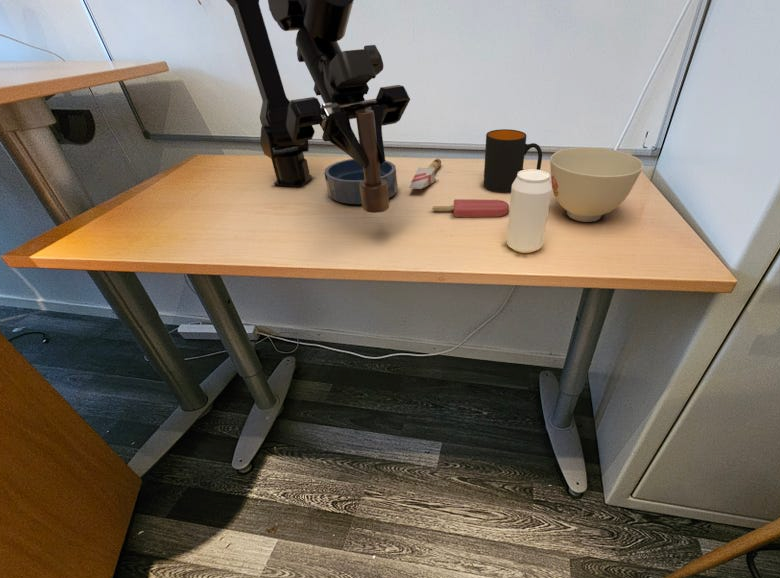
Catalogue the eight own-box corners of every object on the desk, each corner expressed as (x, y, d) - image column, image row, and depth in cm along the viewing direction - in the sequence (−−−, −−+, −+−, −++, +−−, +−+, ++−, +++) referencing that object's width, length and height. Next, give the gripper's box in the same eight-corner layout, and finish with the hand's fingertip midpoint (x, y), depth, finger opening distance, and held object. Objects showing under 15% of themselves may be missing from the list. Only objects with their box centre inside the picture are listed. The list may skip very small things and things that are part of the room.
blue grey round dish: (318, 204, 85) (313, 179, 81) (343, 179, 95) (339, 156, 92) (387, 209, 83) (384, 183, 80) (404, 183, 94) (403, 159, 90)
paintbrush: (405, 180, 86) (430, 155, 101) (406, 193, 88) (430, 167, 103) (423, 181, 85) (445, 156, 100) (423, 195, 87) (445, 168, 102)
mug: (537, 195, 88) (544, 142, 81) (481, 191, 90) (483, 139, 83) (538, 181, 94) (545, 131, 87) (485, 178, 96) (488, 128, 89)
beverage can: (501, 252, 70) (508, 178, 62) (510, 236, 74) (518, 165, 66) (538, 258, 68) (550, 183, 60) (545, 241, 72) (557, 170, 64)
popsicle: (432, 198, 83) (507, 198, 83) (433, 206, 84) (507, 206, 84) (431, 209, 79) (510, 209, 79) (432, 217, 80) (509, 217, 80)
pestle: (358, 211, 67) (344, 114, 58) (367, 201, 70) (354, 106, 61) (385, 213, 67) (374, 115, 57) (392, 203, 70) (383, 108, 60)
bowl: (632, 236, 74) (650, 178, 67) (541, 230, 76) (550, 173, 69) (621, 201, 85) (636, 149, 78) (542, 196, 87) (550, 145, 81)
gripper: (270, 24, 50) (328, 144, 52) (398, 17, 59) (446, 120, 60) (265, 90, 60) (315, 189, 61) (376, 76, 69) (417, 163, 70)
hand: (375, 164), depth 63 cm, fingers closed on pestle, 2 cm apart
